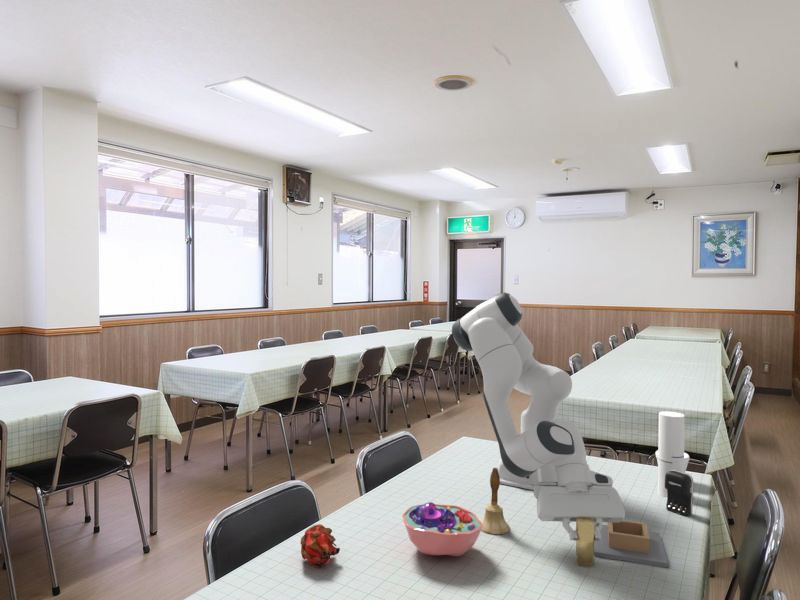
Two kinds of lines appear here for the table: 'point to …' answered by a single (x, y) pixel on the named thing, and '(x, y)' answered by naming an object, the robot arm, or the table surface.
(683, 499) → the battery charger
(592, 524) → the brass tube
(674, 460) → the cylindrical container
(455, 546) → the cell model
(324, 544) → the dragon fruit
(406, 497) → the table surface
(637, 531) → the plate
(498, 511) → the hand bell
